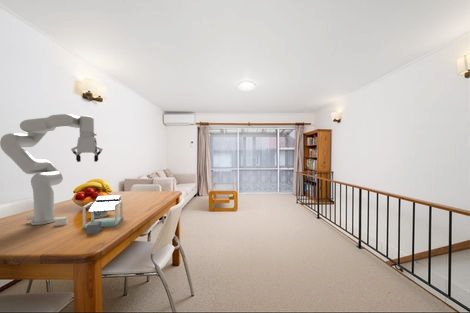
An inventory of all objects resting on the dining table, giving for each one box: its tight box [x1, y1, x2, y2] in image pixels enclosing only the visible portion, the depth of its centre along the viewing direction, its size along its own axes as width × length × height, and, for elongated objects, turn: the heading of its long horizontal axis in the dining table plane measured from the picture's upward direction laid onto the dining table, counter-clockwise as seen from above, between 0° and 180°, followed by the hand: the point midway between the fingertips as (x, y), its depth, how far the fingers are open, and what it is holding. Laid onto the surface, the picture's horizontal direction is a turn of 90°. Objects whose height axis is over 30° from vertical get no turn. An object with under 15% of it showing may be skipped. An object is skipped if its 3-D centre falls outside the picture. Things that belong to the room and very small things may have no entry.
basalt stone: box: [86, 221, 102, 235], centre depth 113 cm, size 5×5×6 cm
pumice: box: [54, 216, 68, 227], centre depth 126 cm, size 5×4×4 cm
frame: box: [81, 199, 124, 230], centre depth 127 cm, size 18×15×12 cm
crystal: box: [88, 195, 109, 219], centre depth 143 cm, size 10×13×15 cm
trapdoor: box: [87, 194, 121, 214], centre depth 130 cm, size 15×17×4 cm
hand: (87, 161), depth 132 cm, fingers open, 9 cm apart
